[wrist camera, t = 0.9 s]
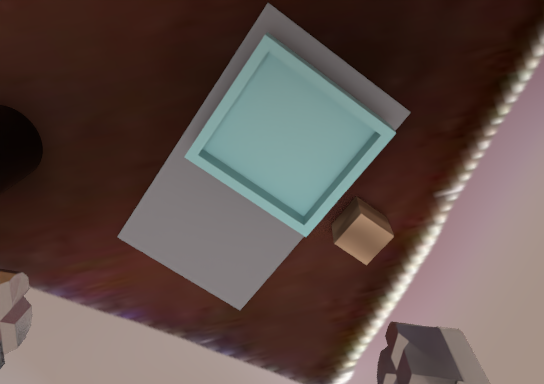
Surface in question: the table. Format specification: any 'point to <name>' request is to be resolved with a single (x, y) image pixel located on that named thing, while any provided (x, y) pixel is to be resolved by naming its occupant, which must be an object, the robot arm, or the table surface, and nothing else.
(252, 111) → the cyan square tray
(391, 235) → the walnut block
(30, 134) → the water bottle
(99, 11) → the table surface
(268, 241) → the grey rectangular mat
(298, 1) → the table surface
